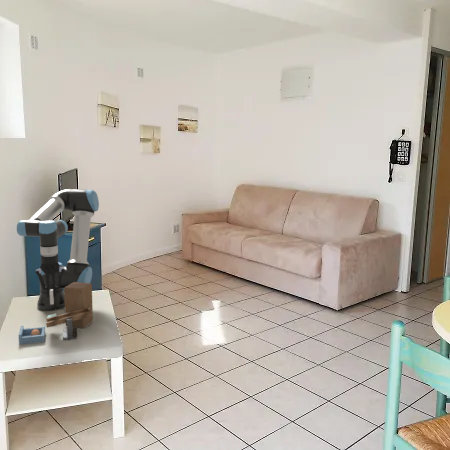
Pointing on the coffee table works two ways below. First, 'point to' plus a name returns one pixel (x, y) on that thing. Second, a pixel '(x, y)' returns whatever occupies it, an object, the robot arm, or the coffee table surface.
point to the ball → (35, 332)
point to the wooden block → (78, 301)
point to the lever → (68, 317)
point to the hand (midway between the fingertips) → (52, 303)
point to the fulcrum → (69, 331)
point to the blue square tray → (26, 335)
